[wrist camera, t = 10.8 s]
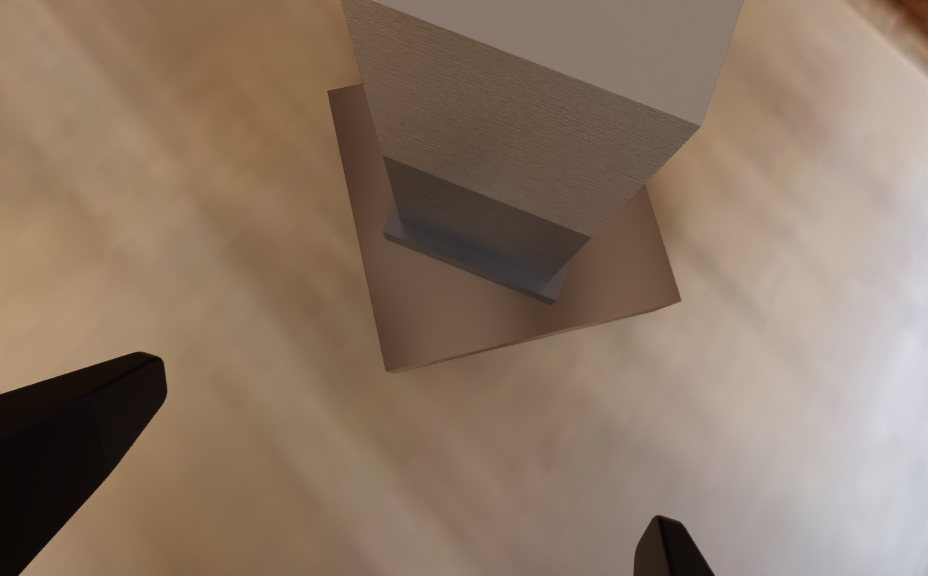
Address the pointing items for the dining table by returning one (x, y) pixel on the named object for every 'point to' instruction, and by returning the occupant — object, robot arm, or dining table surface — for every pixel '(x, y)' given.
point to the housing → (529, 119)
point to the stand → (474, 298)
